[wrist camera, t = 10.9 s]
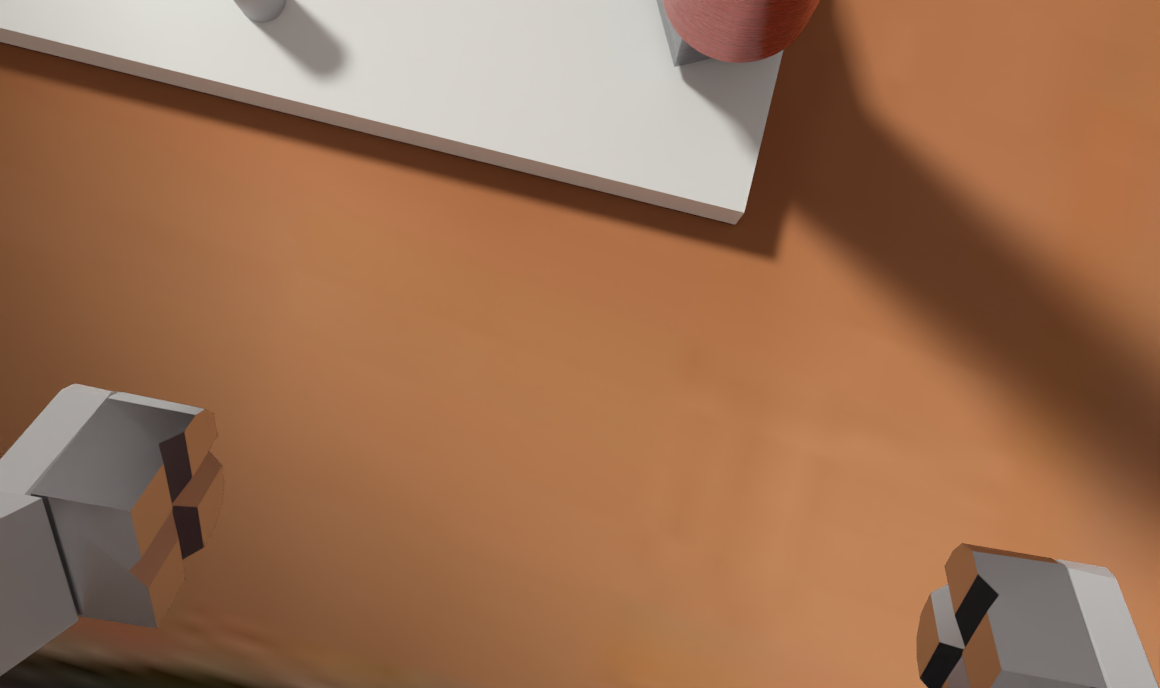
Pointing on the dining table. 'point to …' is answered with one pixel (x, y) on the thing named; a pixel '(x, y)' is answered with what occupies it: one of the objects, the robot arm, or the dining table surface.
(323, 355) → the dining table surface
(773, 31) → the lever
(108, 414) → the robot arm
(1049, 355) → the dining table surface
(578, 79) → the cracker base
